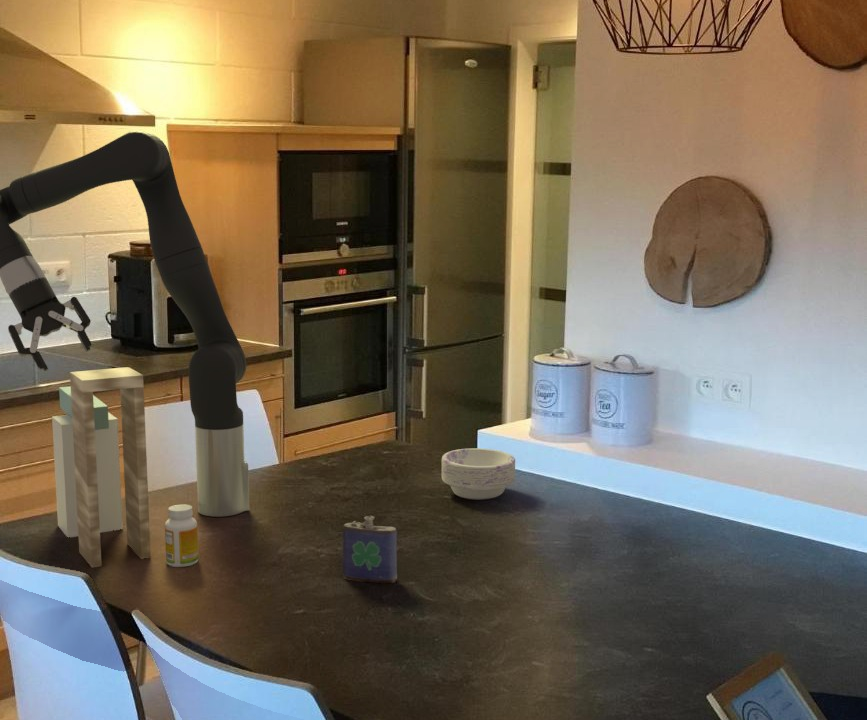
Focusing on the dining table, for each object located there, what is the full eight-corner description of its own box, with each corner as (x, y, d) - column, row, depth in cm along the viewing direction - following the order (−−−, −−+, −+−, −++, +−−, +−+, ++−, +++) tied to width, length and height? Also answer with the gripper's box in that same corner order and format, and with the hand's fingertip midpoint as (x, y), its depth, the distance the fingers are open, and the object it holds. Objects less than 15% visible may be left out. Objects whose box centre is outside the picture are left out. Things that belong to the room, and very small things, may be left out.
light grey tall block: (111, 517, 217) (106, 410, 214) (122, 529, 210) (117, 418, 207) (58, 525, 212) (51, 416, 209) (67, 537, 205) (61, 424, 202)
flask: (398, 579, 185) (398, 516, 183) (393, 585, 182) (392, 521, 181) (345, 573, 188) (344, 511, 186) (339, 579, 185) (338, 516, 183)
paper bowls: (517, 504, 226) (517, 466, 225) (441, 504, 227) (441, 465, 225) (512, 483, 241) (513, 447, 240) (441, 483, 242) (441, 447, 240)
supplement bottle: (202, 557, 195) (200, 503, 194) (192, 568, 190) (191, 512, 188) (172, 556, 196) (170, 502, 194) (161, 567, 190) (159, 511, 189)
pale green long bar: (81, 405, 218) (80, 385, 218) (108, 428, 199) (107, 406, 199) (60, 407, 216) (59, 387, 216) (85, 430, 197) (84, 408, 197)
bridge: (136, 542, 203) (128, 367, 197) (150, 557, 195) (143, 375, 190) (79, 552, 198) (69, 372, 192) (91, 567, 190) (82, 380, 185)
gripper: (-10, 296, 208) (32, 374, 208) (62, 264, 214) (103, 340, 214) (-9, 305, 215) (32, 380, 215) (61, 274, 221) (101, 347, 221)
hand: (67, 360), depth 215 cm, fingers open, 8 cm apart
